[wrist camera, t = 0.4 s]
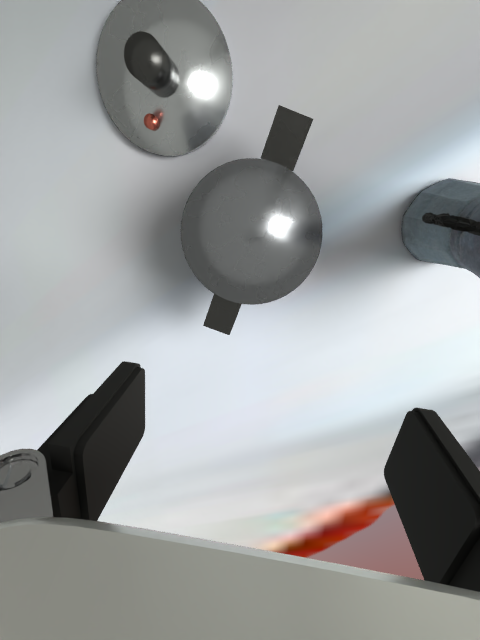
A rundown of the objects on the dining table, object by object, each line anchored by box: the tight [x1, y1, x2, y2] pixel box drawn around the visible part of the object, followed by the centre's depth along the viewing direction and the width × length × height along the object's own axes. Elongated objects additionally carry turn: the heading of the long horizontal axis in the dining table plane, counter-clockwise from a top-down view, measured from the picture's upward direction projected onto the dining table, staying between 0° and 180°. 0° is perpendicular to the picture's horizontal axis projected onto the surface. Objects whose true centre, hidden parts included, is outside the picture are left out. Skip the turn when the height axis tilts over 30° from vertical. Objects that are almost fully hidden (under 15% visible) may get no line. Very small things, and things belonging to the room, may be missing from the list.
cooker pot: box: [181, 105, 322, 335], centre depth 32 cm, size 21×13×9 cm, turn 160°
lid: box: [96, 0, 233, 156], centre depth 29 cm, size 14×14×6 cm
